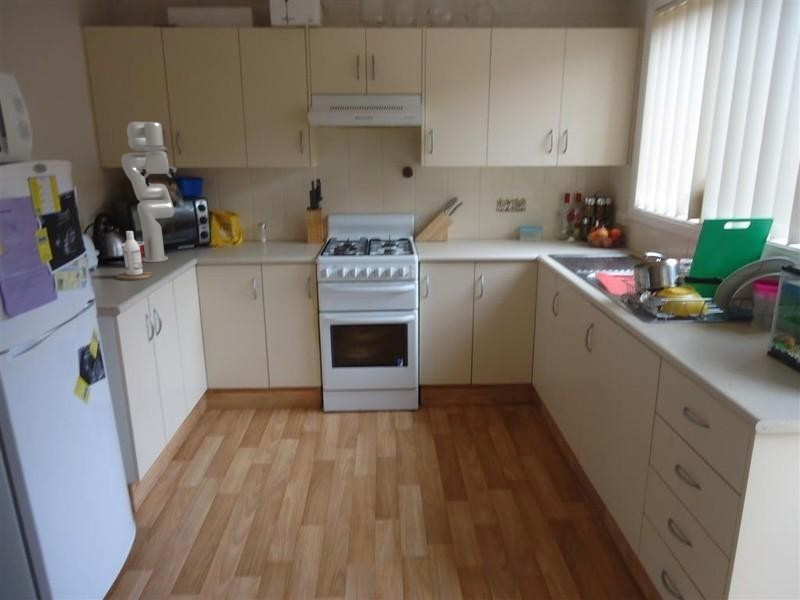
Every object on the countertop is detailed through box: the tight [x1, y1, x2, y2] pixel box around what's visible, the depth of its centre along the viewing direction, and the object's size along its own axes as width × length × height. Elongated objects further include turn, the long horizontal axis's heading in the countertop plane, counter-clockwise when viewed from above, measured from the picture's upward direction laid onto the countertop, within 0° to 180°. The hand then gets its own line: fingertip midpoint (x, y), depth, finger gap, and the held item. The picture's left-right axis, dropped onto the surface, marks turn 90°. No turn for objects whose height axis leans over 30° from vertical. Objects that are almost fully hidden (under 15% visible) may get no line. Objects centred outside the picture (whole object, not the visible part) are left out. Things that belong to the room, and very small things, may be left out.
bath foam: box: [122, 230, 144, 276], centre depth 253 cm, size 7×7×20 cm
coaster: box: [116, 270, 153, 282], centre depth 256 cm, size 15×15×1 cm
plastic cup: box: [120, 240, 144, 262], centre depth 276 cm, size 11×11×12 cm
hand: (159, 186), depth 265 cm, fingers open, 9 cm apart
